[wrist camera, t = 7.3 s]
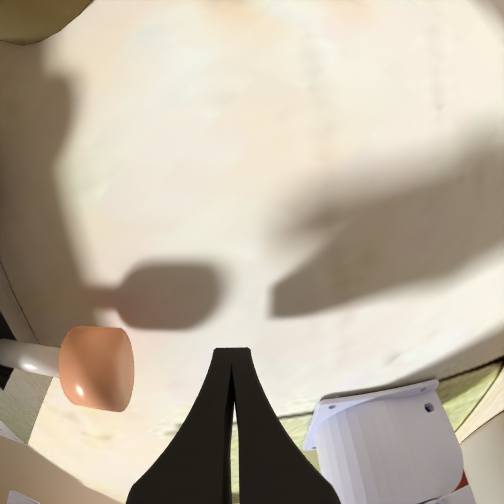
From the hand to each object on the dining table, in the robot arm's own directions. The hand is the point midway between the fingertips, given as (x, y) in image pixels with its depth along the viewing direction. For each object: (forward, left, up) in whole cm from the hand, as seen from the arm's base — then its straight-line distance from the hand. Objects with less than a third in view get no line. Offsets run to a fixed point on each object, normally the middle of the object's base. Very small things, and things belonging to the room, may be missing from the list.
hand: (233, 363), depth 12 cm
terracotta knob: (+8, 0, -1) cm, 8 cm away
